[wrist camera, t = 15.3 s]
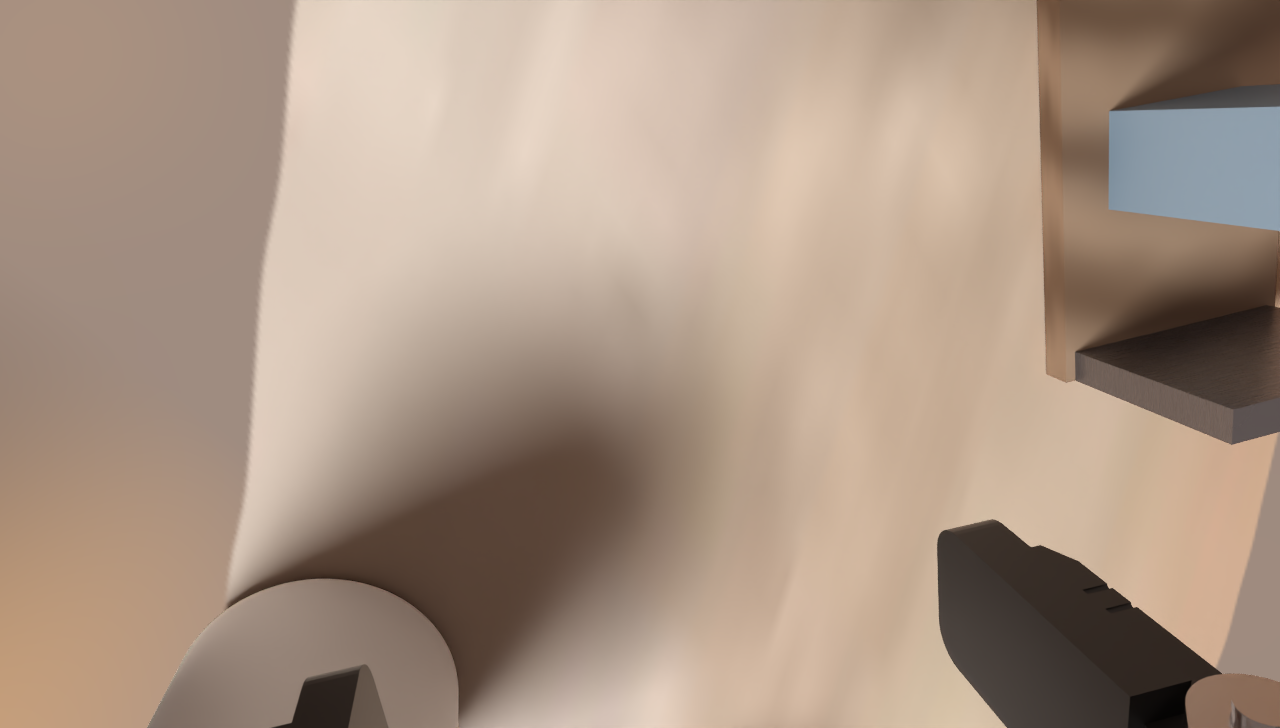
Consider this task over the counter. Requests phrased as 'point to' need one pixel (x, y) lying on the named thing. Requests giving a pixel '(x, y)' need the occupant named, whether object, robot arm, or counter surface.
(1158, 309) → the book stand
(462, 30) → the counter surface
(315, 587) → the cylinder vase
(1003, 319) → the counter surface
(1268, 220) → the book
